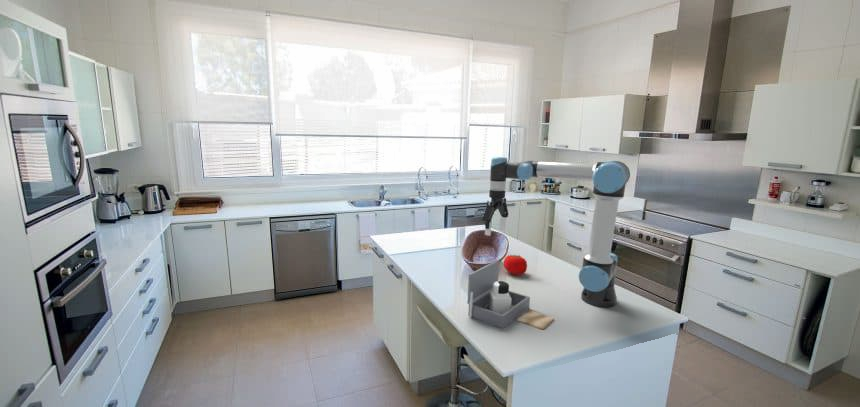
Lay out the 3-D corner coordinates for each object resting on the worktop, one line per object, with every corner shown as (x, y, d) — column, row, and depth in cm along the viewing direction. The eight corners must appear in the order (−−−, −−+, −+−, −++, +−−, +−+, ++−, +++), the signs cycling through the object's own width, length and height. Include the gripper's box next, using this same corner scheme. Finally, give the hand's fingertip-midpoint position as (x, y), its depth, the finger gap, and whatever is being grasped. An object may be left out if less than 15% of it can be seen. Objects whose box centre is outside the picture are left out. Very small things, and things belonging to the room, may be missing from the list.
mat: (553, 319, 161) (553, 318, 161) (542, 329, 153) (543, 328, 153) (528, 311, 168) (528, 310, 168) (517, 320, 159) (517, 319, 159)
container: (506, 307, 171) (508, 279, 169) (510, 315, 164) (512, 286, 161) (488, 307, 171) (490, 279, 168) (492, 315, 163) (493, 286, 161)
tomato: (522, 279, 204) (524, 260, 202) (499, 273, 211) (501, 255, 209) (529, 272, 214) (530, 254, 212) (507, 267, 220) (508, 250, 218)
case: (529, 307, 172) (532, 268, 168) (501, 329, 152) (504, 285, 149) (495, 296, 182) (497, 259, 178) (465, 315, 163) (467, 274, 159)
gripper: (503, 186, 199) (501, 226, 203) (476, 191, 180) (474, 235, 184) (517, 187, 194) (514, 229, 198) (490, 193, 175) (488, 239, 179)
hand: (495, 232), depth 191 cm, fingers open, 13 cm apart
